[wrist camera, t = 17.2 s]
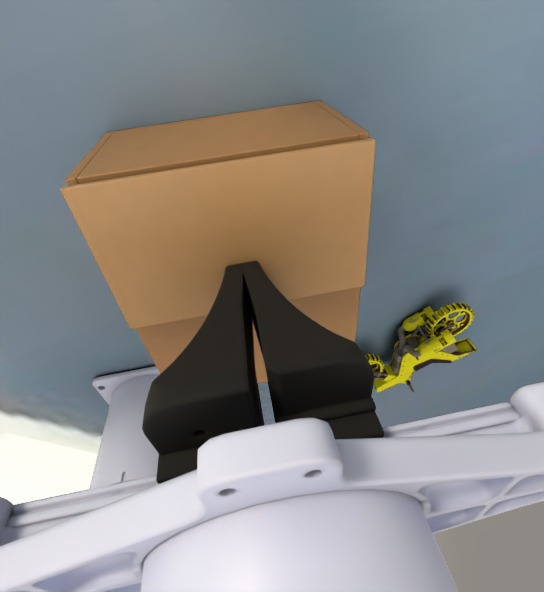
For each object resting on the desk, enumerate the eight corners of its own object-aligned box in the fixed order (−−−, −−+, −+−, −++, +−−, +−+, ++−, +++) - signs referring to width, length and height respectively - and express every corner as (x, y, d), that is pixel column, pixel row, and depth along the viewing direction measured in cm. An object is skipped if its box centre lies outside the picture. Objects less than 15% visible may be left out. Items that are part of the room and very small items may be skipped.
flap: (63, 186, 11) (59, 189, 11) (372, 137, 11) (376, 139, 11) (131, 324, 15) (130, 329, 14) (362, 282, 15) (364, 286, 15)
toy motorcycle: (482, 314, 24) (499, 355, 28) (451, 281, 26) (471, 323, 31) (341, 390, 27) (375, 416, 31) (328, 354, 30) (360, 382, 34)
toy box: (106, 131, 16) (56, 187, 11) (321, 100, 17) (377, 137, 11) (180, 317, 24) (173, 400, 19) (321, 291, 25) (353, 365, 20)
